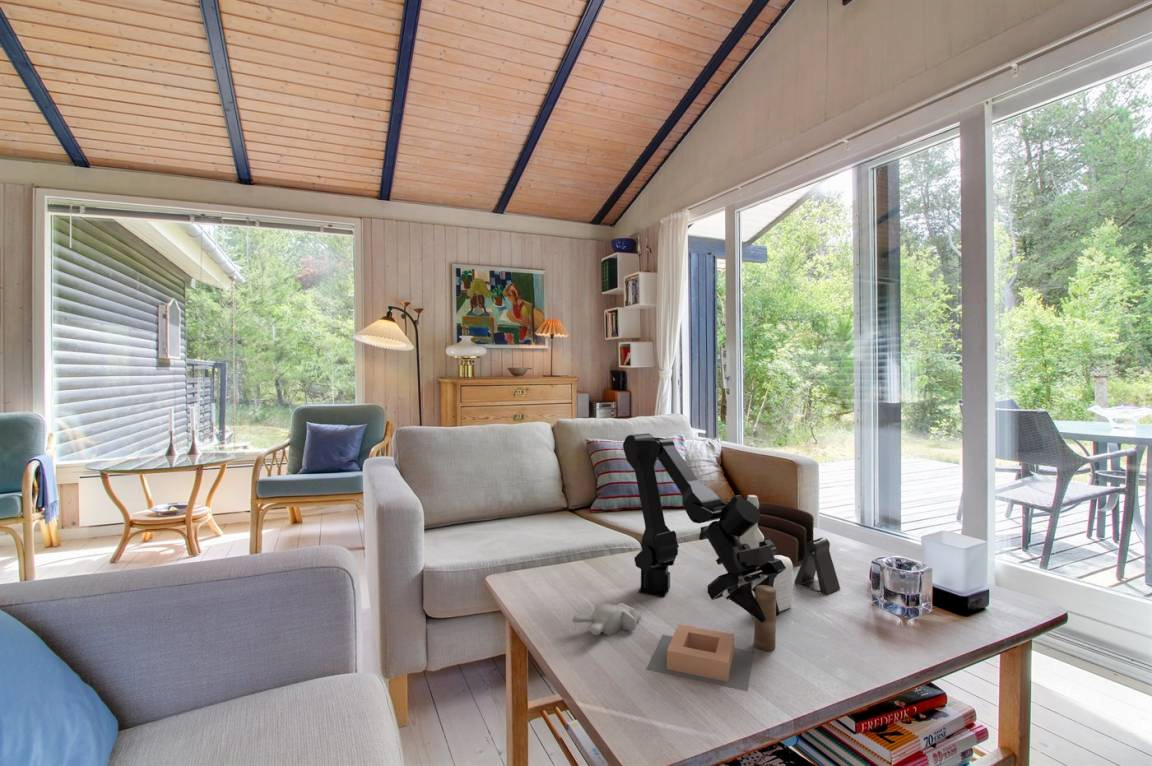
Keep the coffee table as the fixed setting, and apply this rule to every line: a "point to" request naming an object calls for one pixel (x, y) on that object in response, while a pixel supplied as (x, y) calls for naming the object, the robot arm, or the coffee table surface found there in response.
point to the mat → (736, 677)
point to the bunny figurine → (610, 618)
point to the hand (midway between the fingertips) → (771, 618)
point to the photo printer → (784, 584)
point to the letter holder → (786, 529)
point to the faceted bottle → (752, 529)
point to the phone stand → (818, 568)
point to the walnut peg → (766, 629)
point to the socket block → (701, 652)
